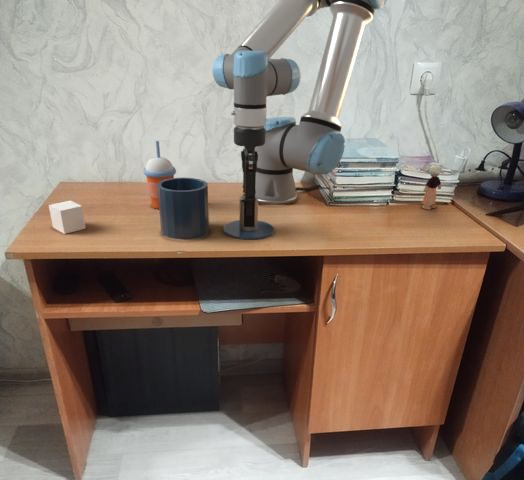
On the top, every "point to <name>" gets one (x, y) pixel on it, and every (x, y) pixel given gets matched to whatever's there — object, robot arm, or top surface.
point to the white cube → (67, 216)
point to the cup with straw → (157, 175)
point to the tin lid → (248, 233)
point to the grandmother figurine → (432, 187)
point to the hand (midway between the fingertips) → (248, 222)
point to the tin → (183, 208)
